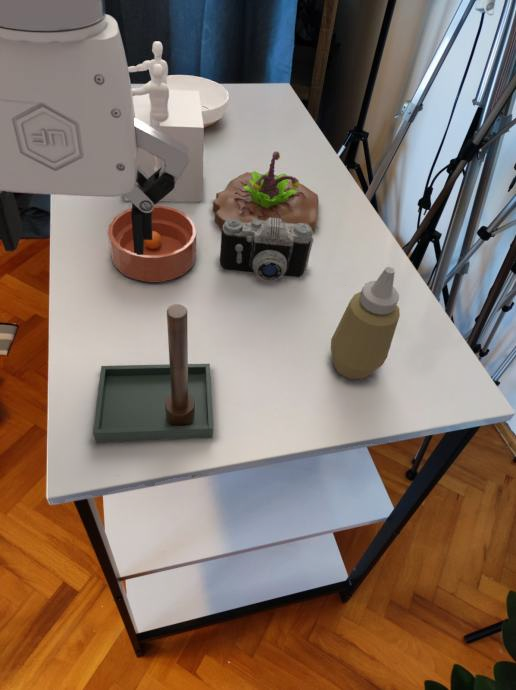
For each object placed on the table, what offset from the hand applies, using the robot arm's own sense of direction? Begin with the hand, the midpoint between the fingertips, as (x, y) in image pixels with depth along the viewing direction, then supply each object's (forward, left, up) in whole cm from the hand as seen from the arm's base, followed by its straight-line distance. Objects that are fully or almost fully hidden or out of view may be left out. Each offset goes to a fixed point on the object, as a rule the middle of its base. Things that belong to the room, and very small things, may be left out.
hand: (78, 242), depth 40 cm
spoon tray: (+5, +3, -29) cm, 29 cm away
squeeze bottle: (+33, +9, -29) cm, 44 cm away
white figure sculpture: (+5, +55, -29) cm, 62 cm away
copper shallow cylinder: (+4, +33, -29) cm, 44 cm away
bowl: (+10, +84, -29) cm, 89 cm away
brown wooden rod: (+8, +1, -28) cm, 29 cm away
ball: (+3, +35, -27) cm, 44 cm away
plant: (+25, +47, -29) cm, 60 cm away
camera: (+22, +29, -29) cm, 46 cm away
